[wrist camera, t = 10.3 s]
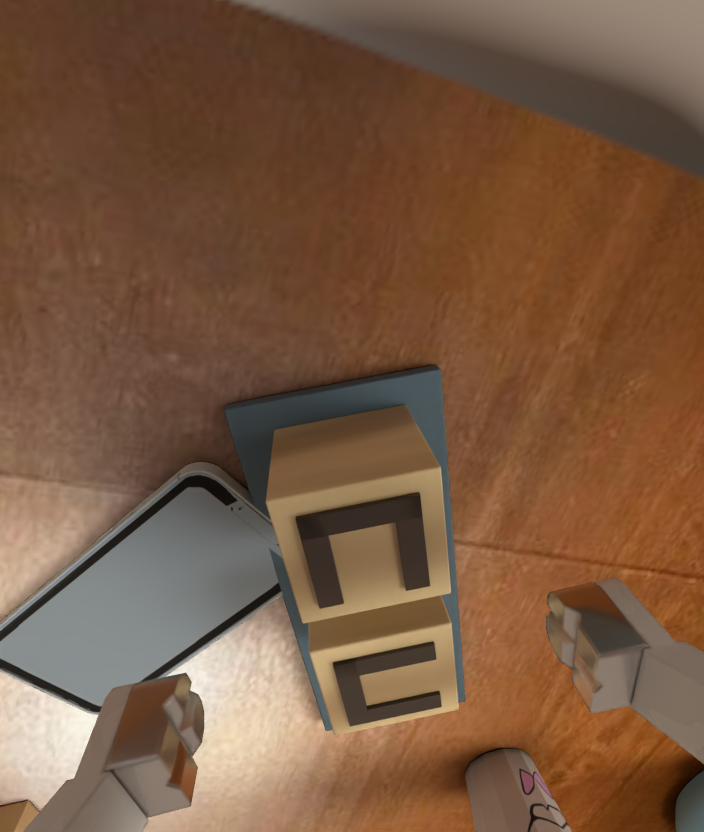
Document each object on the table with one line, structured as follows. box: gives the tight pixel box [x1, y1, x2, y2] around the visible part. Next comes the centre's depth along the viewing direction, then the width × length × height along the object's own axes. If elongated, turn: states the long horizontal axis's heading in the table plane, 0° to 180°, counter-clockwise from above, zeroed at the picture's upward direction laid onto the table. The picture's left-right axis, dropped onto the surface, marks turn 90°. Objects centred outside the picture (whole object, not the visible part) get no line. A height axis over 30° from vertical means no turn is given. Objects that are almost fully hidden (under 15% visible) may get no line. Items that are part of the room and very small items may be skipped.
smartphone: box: [0, 462, 283, 715], centre depth 20 cm, size 7×1×15 cm
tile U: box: [309, 595, 459, 736], centre depth 18 cm, size 5×5×5 cm
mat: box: [224, 365, 465, 731], centre depth 20 cm, size 20×8×1 cm, turn 9°
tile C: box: [266, 405, 451, 623], centre depth 15 cm, size 5×5×5 cm
